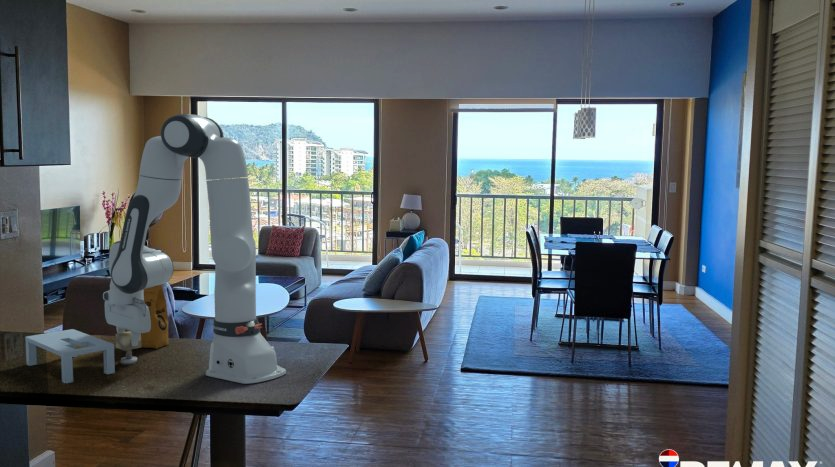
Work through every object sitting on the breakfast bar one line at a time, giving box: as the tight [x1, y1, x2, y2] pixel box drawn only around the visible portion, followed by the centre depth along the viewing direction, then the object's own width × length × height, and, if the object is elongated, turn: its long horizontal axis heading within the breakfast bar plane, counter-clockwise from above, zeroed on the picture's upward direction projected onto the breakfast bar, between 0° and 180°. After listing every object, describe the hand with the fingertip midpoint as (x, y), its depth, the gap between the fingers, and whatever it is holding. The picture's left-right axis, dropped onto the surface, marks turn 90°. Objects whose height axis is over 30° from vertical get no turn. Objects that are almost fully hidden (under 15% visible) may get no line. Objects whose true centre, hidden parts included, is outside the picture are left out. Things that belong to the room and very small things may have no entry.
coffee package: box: [125, 284, 169, 350], centre depth 218 cm, size 10×12×22 cm
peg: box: [115, 331, 142, 365], centre depth 200 cm, size 5×5×8 cm
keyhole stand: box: [25, 328, 116, 384], centre depth 194 cm, size 26×13×8 cm, turn 49°
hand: (128, 343), depth 200 cm, fingers open, 5 cm apart
